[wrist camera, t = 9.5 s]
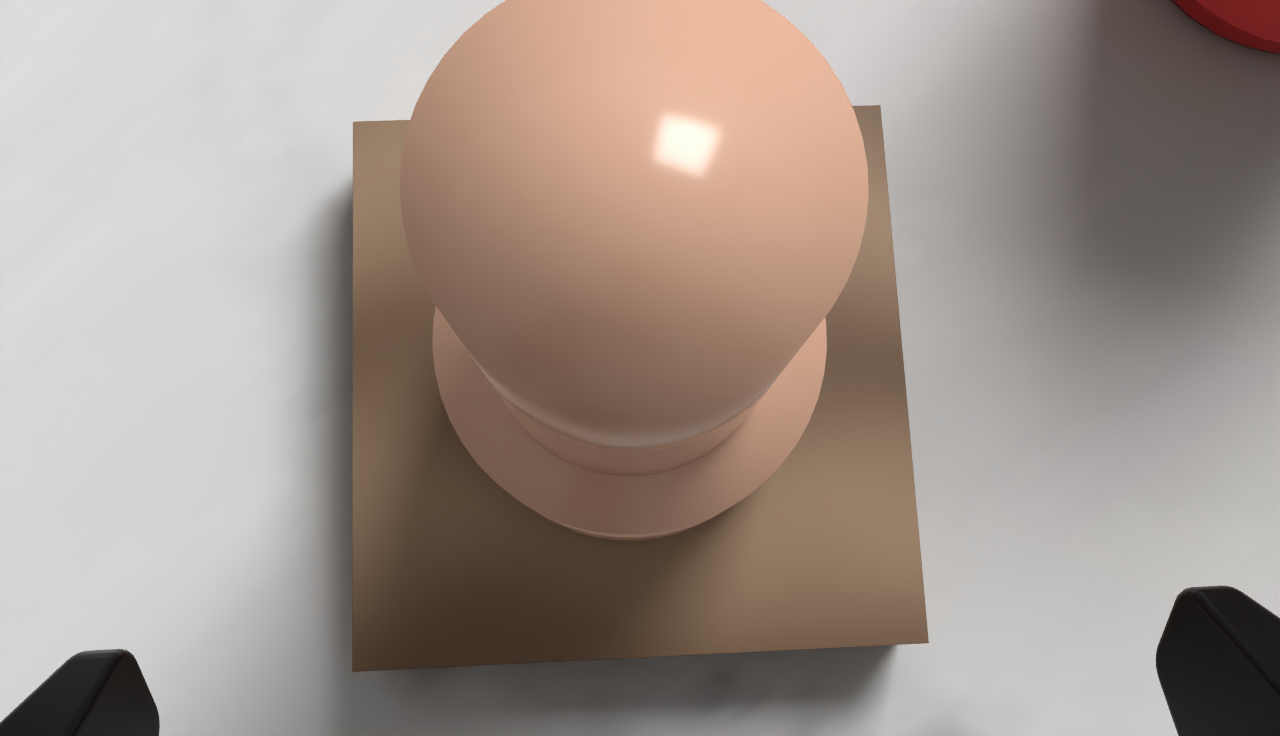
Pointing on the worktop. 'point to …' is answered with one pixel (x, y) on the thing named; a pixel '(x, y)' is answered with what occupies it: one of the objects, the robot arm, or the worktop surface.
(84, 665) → the robot arm
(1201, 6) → the canned food
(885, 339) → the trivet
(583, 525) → the peach chess pawn
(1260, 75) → the worktop surface
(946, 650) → the worktop surface
